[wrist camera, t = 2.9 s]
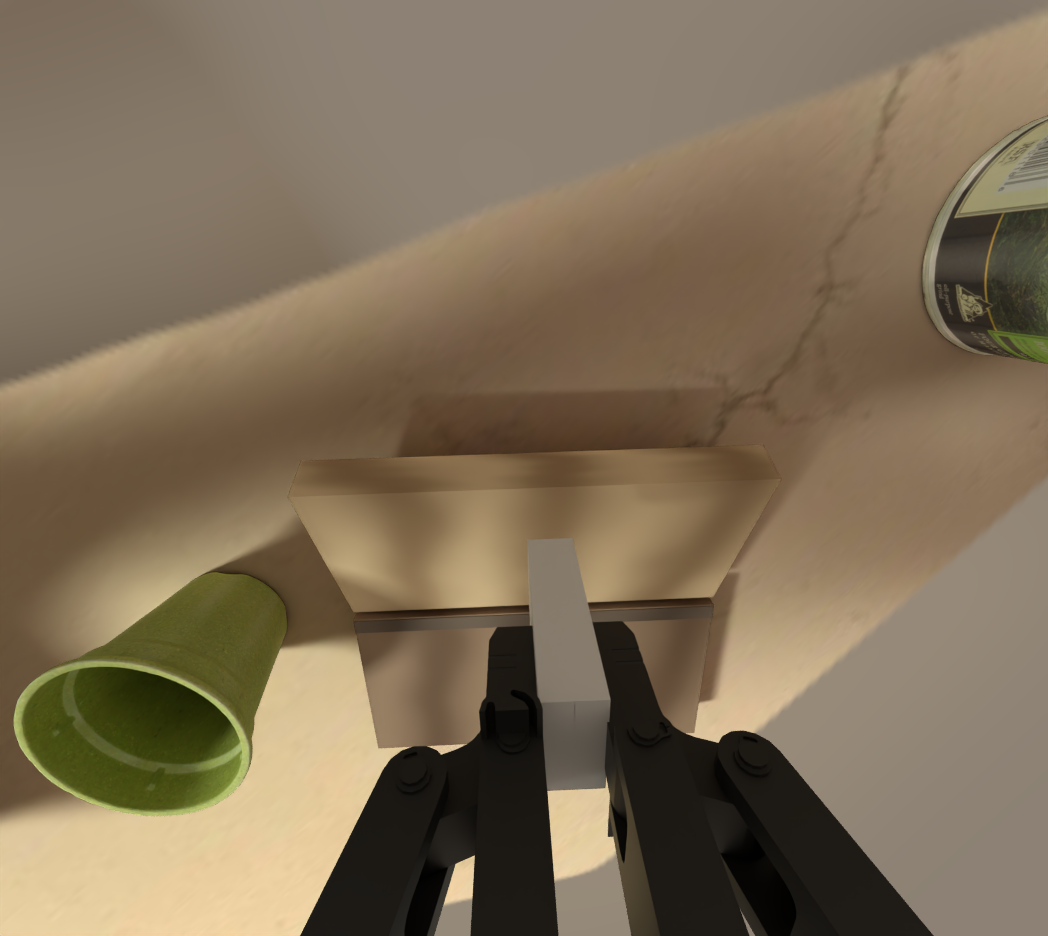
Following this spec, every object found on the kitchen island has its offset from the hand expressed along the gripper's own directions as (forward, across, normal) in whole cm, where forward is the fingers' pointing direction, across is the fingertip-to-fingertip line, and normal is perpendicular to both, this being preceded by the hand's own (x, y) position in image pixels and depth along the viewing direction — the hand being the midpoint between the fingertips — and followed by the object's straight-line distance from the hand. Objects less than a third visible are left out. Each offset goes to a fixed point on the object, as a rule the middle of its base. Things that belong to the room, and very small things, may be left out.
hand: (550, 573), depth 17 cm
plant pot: (+10, +18, +9) cm, 22 cm away
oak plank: (+8, 0, +2) cm, 8 cm away
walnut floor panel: (+10, 0, +13) cm, 16 cm away
